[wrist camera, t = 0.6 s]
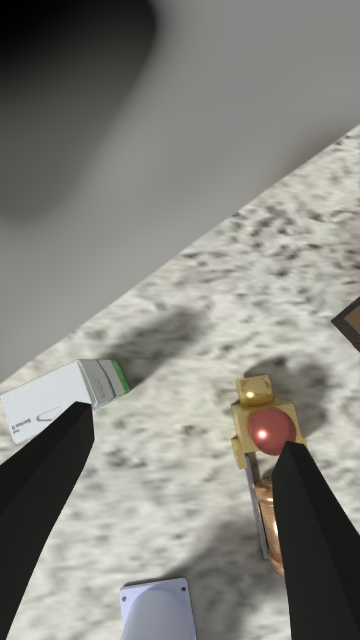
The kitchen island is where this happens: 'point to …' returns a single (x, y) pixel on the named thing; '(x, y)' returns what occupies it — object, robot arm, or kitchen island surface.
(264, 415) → the valve
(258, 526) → the rails
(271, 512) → the coupling
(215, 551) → the kitchen island surface
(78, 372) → the ink box
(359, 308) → the toy
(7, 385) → the kitchen island surface
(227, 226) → the kitchen island surface
